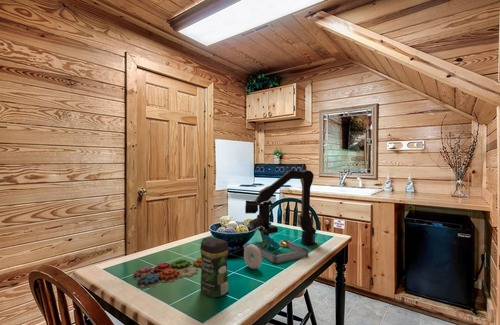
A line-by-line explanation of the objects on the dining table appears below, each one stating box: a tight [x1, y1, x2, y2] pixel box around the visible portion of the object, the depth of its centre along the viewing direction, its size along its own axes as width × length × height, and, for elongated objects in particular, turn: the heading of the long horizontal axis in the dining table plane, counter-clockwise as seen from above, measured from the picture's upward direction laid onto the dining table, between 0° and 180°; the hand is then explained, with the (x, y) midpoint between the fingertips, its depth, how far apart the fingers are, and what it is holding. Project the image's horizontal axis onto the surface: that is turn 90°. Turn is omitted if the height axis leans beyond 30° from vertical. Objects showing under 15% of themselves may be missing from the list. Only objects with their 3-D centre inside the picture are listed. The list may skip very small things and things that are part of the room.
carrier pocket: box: [257, 240, 309, 265], centre depth 126 cm, size 19×16×3 cm
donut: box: [243, 243, 263, 270], centre depth 110 cm, size 10×4×10 cm, turn 40°
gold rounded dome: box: [279, 238, 292, 249], centre depth 139 cm, size 6×6×3 cm
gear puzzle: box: [133, 257, 202, 289], centre depth 107 cm, size 31×16×4 cm, turn 124°
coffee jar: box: [200, 235, 229, 299], centre depth 91 cm, size 10×8×19 cm
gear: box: [261, 235, 281, 251], centre depth 133 cm, size 11×6×10 cm
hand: (264, 242), depth 141 cm, fingers closed
